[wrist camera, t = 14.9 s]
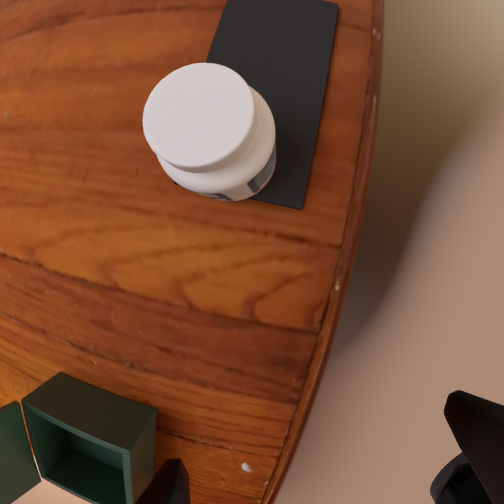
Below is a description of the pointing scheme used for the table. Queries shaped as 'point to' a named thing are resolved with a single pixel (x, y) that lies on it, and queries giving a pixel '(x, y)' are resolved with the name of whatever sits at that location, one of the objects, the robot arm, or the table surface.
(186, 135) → the pill bottle
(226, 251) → the table surface
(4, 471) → the lid
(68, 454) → the green square box
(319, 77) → the mat
